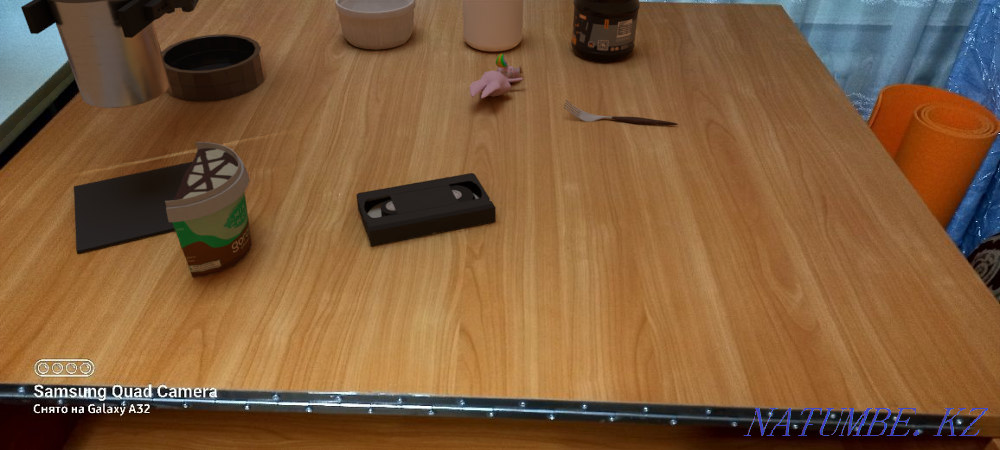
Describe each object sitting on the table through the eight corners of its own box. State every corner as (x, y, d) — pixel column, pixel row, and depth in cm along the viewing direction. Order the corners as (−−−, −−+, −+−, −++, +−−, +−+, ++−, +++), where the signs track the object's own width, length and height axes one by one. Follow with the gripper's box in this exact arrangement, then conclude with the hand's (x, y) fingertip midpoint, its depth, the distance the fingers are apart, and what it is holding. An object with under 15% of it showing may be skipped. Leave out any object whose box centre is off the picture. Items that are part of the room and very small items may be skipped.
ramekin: (403, 20, 135) (401, -19, 131) (428, 46, 125) (426, 5, 121) (331, 30, 130) (326, -9, 126) (351, 58, 121) (346, 16, 117)
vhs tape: (474, 186, 90) (473, 172, 89) (495, 221, 84) (495, 207, 83) (357, 207, 86) (355, 193, 85) (371, 246, 80) (369, 231, 79)
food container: (251, 284, 75) (231, 202, 69) (188, 287, 74) (163, 204, 68) (271, 214, 85) (255, 137, 79) (216, 216, 84) (196, 139, 78)
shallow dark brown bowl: (161, 73, 115) (153, 43, 112) (256, 58, 120) (250, 28, 117) (172, 112, 105) (163, 80, 102) (275, 93, 110) (269, 62, 107)
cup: (480, 28, 132) (480, -29, 126) (531, 38, 128) (533, -20, 123) (453, 47, 125) (451, -12, 119) (506, 58, 121) (507, -2, 115)
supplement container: (580, 35, 129) (585, -34, 122) (640, 44, 126) (648, -27, 119) (562, 58, 121) (567, -15, 114) (625, 68, 118) (634, -7, 111)
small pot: (77, 80, 84) (40, -26, 77) (167, 66, 87) (139, -38, 80) (80, 116, 77) (39, 2, 70) (177, 99, 80) (148, -11, 73)
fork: (677, 132, 102) (679, 119, 101) (562, 120, 104) (563, 107, 103) (677, 123, 104) (679, 110, 103) (564, 111, 106) (565, 99, 105)
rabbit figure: (494, 80, 118) (455, 105, 105) (496, 42, 115) (457, 63, 102) (531, 86, 116) (496, 112, 103) (534, 48, 113) (499, 70, 100)
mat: (74, 188, 89) (73, 186, 88) (197, 163, 94) (196, 160, 93) (77, 254, 78) (76, 251, 78) (214, 221, 84) (213, 218, 83)
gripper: (267, -10, 93) (192, 63, 75) (100, -17, 94) (-14, 53, 76) (256, -73, 88) (174, -12, 70) (81, -79, 90) (-45, -20, 71)
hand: (77, 22), depth 73 cm, fingers closed on small pot, 9 cm apart
